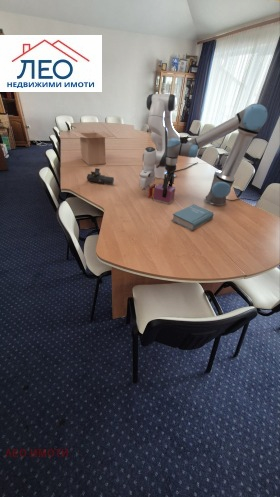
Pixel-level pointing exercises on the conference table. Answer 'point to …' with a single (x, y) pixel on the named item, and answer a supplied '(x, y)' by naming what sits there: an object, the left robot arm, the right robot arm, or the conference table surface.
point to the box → (92, 146)
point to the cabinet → (159, 192)
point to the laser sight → (99, 177)
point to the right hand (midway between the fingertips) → (166, 194)
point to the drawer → (151, 190)
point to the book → (192, 217)
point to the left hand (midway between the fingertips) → (146, 190)
